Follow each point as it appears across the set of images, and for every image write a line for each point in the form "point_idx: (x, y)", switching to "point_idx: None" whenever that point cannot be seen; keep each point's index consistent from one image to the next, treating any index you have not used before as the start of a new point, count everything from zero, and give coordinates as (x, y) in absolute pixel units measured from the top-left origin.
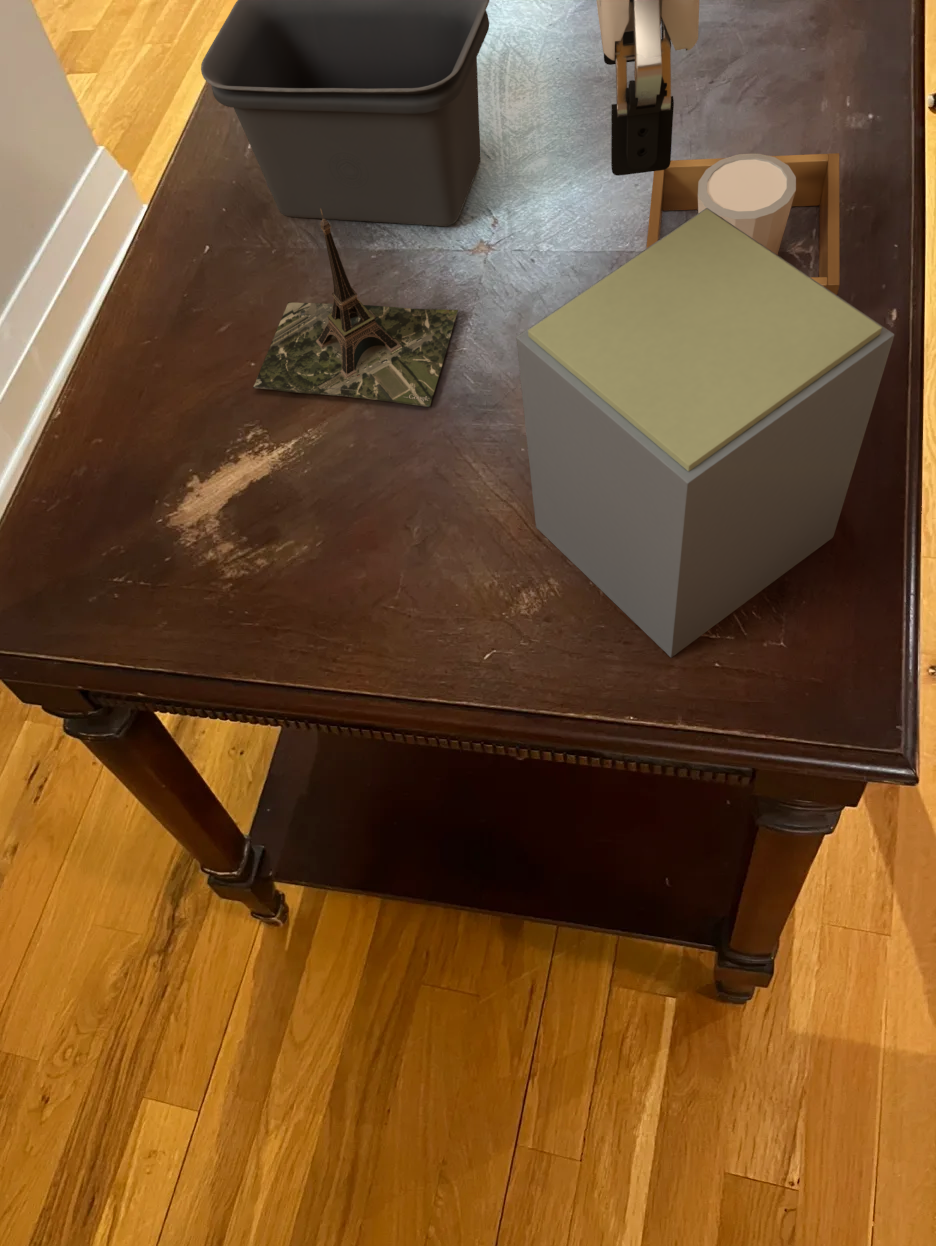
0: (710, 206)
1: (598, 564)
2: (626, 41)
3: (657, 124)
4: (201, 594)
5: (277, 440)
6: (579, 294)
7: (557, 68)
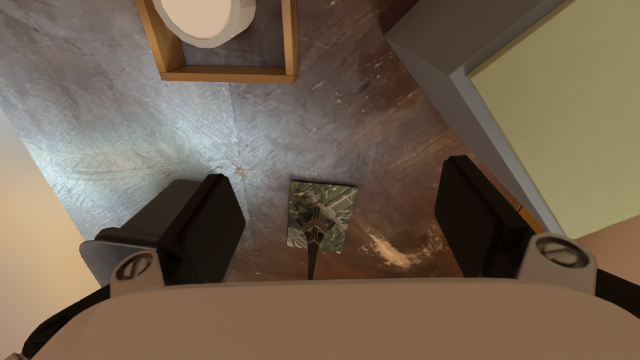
0: (228, 34)
1: None
2: (230, 225)
3: (530, 229)
4: (447, 254)
5: (369, 240)
6: (531, 201)
7: (77, 142)
